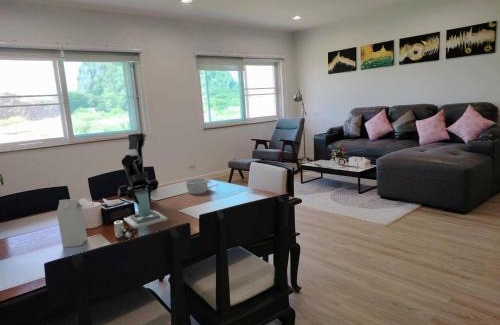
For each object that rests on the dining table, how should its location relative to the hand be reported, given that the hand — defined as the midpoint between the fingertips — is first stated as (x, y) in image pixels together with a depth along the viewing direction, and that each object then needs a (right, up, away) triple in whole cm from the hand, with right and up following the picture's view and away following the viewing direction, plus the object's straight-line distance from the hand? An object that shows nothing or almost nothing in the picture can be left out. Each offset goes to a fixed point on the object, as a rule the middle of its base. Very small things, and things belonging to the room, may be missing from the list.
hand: (144, 202), depth 166 cm
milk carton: (-22, -15, -21) cm, 34 cm away
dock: (0, -9, +3) cm, 9 cm away
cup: (0, -6, +2) cm, 7 cm away
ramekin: (+18, +1, +48) cm, 51 cm away
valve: (-3, -13, -19) cm, 23 cm away
